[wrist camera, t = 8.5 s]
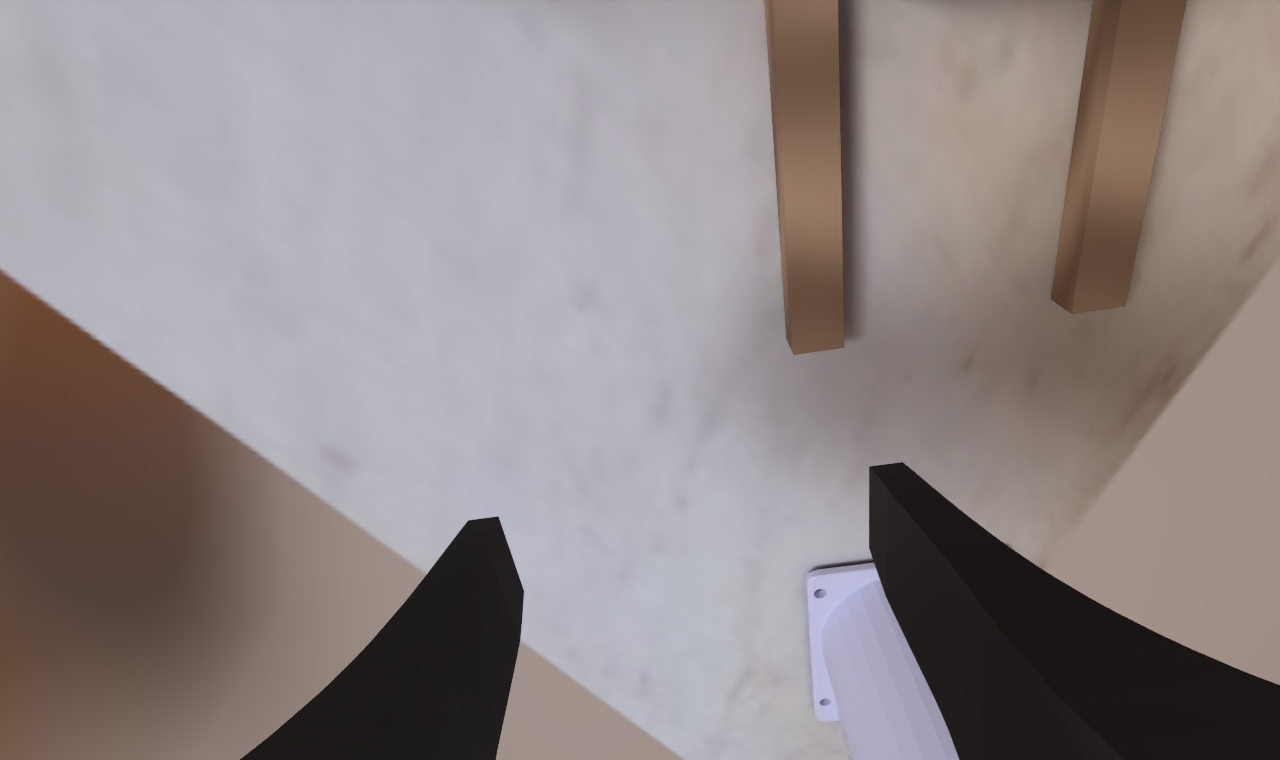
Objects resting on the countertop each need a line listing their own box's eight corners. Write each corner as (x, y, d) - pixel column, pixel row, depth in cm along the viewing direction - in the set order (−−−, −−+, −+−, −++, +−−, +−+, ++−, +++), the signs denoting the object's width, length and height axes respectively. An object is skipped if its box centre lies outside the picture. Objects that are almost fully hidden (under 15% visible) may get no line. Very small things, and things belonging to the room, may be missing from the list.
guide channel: (1102, 291, 22) (1204, 354, 18) (786, 338, 23) (818, 408, 19) (1241, -481, 14) (1483, -673, 10) (740, -370, 15) (780, -506, 11)
